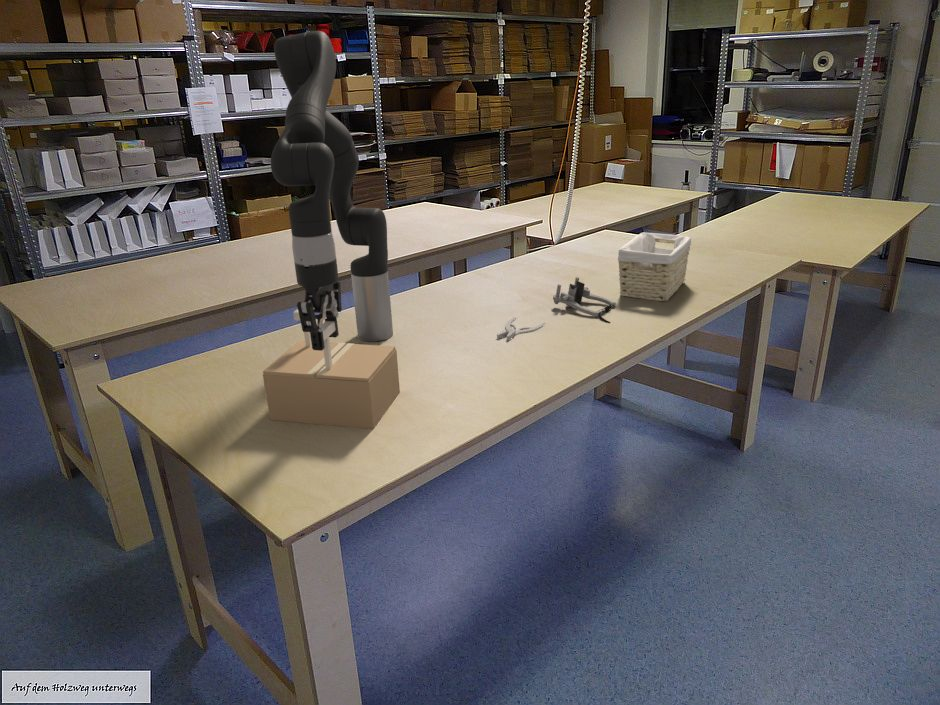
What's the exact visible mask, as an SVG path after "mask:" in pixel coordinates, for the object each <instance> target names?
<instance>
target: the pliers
mask: <svg viewBox="0 0 940 705" xmlns="http://www.w3.org/2000/svg"><path fill="white" fill-rule="evenodd" d="M514 319H515V320H516V319H517V318H516V317H513V318H510V319H508V321H506V323H505V324H504V325H505V327H504V329H505V330H502V331H500V332H499V333H497V334H496V339H497V338H498V339H497V340H500V339H503V338H505V337H506V341H507V340H508V341H507V342H509V341H511V340H512V339H513V338H515V336H517V335H520V334H525V333H526V332H527V333H531V332H532V333H533V332H534V330H535V331H537V330H539V328H540V329H541V328H543V327H544V326H545V325H546V322H541V323H540V324H538V325H536V326H532V327H527V326H526V327H520V328H518V329H519V330H517V328H516V325H515V324H514V323H513V322H514V321H515V320H514ZM513 320H514V321H513ZM512 321H513V322H512ZM544 324H545V325H544ZM510 325H511V326H510ZM543 325H544V326H543ZM522 329H523V330H522ZM527 333H526V334H527ZM504 336H505V337H504ZM502 337H503V338H502ZM499 338H500V339H499ZM511 338H512V339H511ZM510 339H511V340H510Z"/></svg>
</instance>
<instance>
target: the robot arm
mask: <svg viewBox="0 0 940 705" xmlns="http://www.w3.org/2000/svg"><path fill="white" fill-rule="evenodd" d="M273 45H274V46H273V50H274V57H275V58H274V59H275V60H276V65H277V67H278V70H279V72H280V75H281V77H282V79H283V82H284V85H285V86H286V88H287V90H288V94H290V97H291V98H290V100H289V102H288V104H287V107H286V112H285V120H284V122H285V123H284V129H283V131H282V133H281V135H280V136H279V139H278V140H277V142H276V143H275V146H274V147H273V150H272V153H271V157H270V168H271V169H270V170H271V173H272V175H273V178H274V179H275V180H276V182H278V183H279V184H280V185H282V186H284V187H301V186H303V187H305V186H315V190H314V193H313V194H311V195H309V196H306V197H302V198H299V199H296V200H294V201H291V202H290V203H289V205H288V216H289V223H290V230H291V238H292V242H291V243H292V244H291V245H292V246H291V247H292V256H293V263H294V269H295V270H294V271H295V276H296V283H297V285H299V287H303V288H304V291H305V293H304V300H303V301H298V302H297V305H296V307H297V309H298V312H299V317H300V324H301V326H300V327H301V330H302V332H303V333H304V332H310V335H311V343H312V349H313V350H319V351H322V350H323V349H324V348H325V346H324V338H323V331H322V324H323V321H324V322H326V321H333V322H335V328H336V330H335V331H334V332H333V333H332V334H331V335H330V336H329V338H337V337H338V336H339V326H338V325H339V324H338V318H339V313H341V312H342V309H343V308H342V291H341V290H342V289H341V282H340V281H339V271H338V270H339V268H338V261H337V254H336V244H335V240H334V236H333V232H332V224H331V222H332V221H331V211H330V202H331V206H332V210H333V213H334V218H335V221H336V225H337V228H338V232H339V234H340V237H341V239H342V240H343V241H344V243H345V244H347V245H349V246H363V247H365V246H366V247H368V254H366V255H363V256H360V257H358V258H356V259H353V260H352V261H351V263H350V266H349V267H350V274H351V275H350V276H351V285H352V294H353V295H352V296H353V302H354V303H353V304H354V311H355V323H356V324H355V325H356V331H357V333H356V334H357V338H358V339H360V340H361V341H365V342H378V341H379V342H380V341H383V340H384V341H385V340H388V339H389V338H391V337H392V336H393V335H394V328H393V317H392V316H393V315H392V305H391V304H392V302H391V293H390V292H391V291H390V281H389V280H390V279H389V272H388V271H389V270H388V262H389V261H388V260H389V250H388V227H387V226H388V222H387V219H386V215H385V213H384V211H383V210H382V209H381V208H378V207H356V206H355V205H354V204H353V201H352V198H351V188H352V186H353V183H354V180H355V178H356V176H357V173H358V169H359V164H360V162H359V156H358V152H357V149H356V146H355V143H354V140H353V136H352V134H351V132H350V131H349V129H348V128H347V127H346V125H344V124H343V122H341V121H340V120H339V119H338V118H337V117H336V116H334V115H333V114H332V113H331V112H329V111H328V110H327V106H328V103H329V98H330V96H331V93H332V89H333V86H334V82H335V78H336V73H337V60H336V58H337V57H336V54H335V50H334V47H333V45H332V41H331V39H330V37H329V36H328V35H327V33H325V32H324V31H322V30H312V31H307V32H302V33H296V34H290V35H285V36H281V37H279V38H277V39H276V40H275V42H274V44H273ZM306 321H308V324H307V322H306Z"/></svg>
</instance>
